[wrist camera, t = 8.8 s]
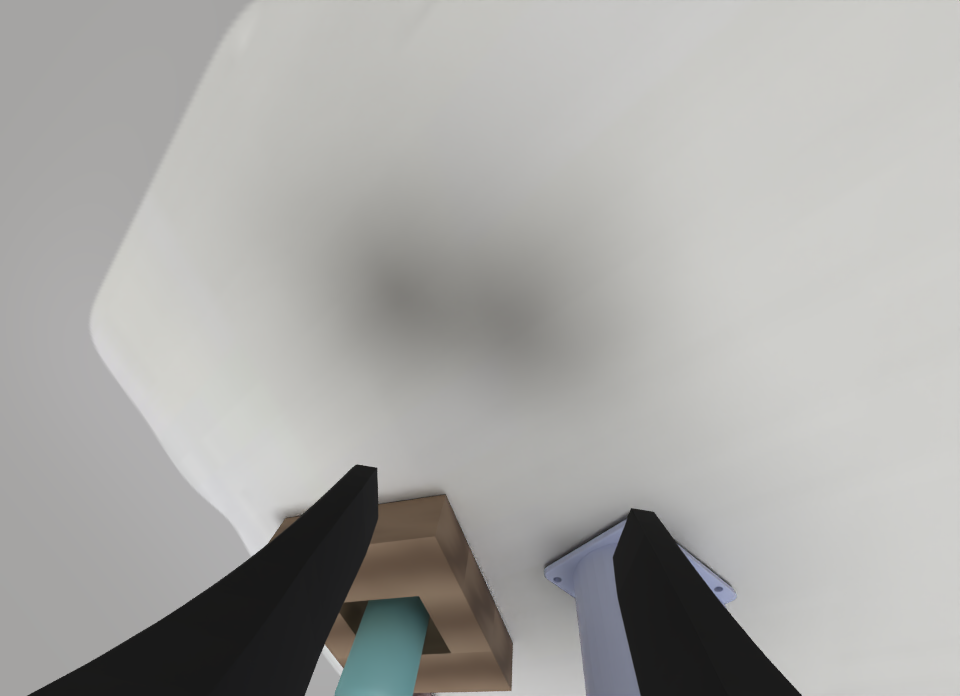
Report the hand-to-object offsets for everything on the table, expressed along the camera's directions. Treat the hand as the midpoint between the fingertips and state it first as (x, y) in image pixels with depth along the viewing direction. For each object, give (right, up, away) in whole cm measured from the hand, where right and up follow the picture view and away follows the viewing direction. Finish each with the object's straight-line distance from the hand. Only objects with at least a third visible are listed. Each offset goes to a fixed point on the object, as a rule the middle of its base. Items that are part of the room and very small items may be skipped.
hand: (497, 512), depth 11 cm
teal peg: (-6, -13, +17) cm, 22 cm away
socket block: (-6, -13, +17) cm, 22 cm away
